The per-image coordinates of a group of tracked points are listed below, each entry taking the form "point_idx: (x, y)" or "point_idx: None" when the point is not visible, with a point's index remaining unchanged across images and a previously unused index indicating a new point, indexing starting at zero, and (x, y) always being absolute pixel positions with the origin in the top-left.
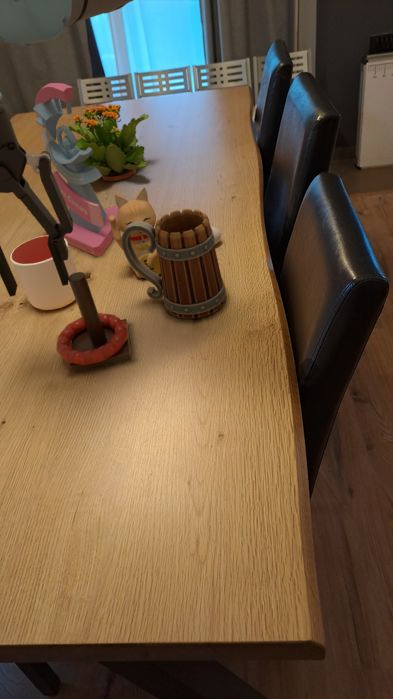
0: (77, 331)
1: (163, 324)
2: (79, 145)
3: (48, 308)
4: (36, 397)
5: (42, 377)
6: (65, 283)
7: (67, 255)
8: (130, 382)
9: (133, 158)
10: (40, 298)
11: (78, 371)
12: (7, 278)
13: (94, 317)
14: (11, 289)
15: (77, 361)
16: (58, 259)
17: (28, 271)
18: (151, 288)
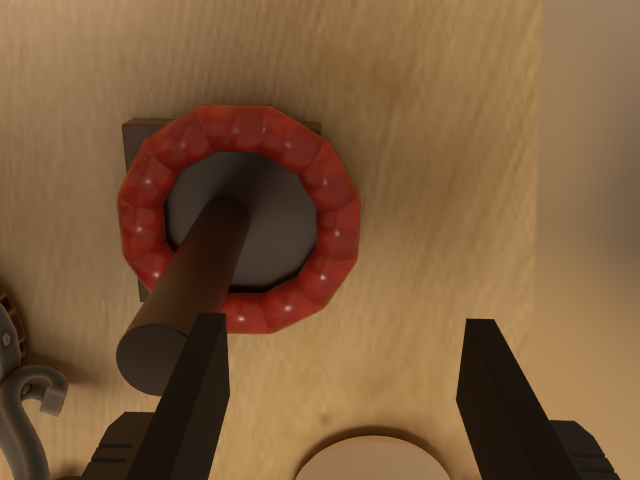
0: (292, 279)
1: (34, 257)
2: None
3: (394, 439)
4: (440, 49)
5: (420, 139)
6: (206, 317)
7: (108, 431)
8: (132, 13)
9: None
10: (411, 469)
11: (303, 123)
12: (495, 379)
13: (184, 240)
14: (481, 338)
15: (287, 116)
16: (160, 407)
17: None
18: (48, 405)
